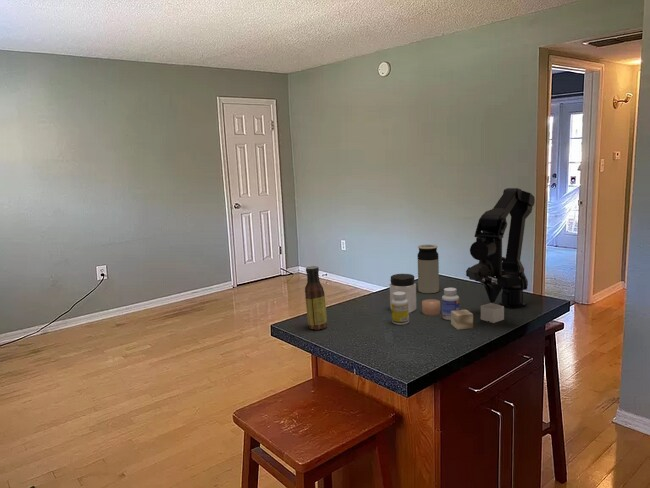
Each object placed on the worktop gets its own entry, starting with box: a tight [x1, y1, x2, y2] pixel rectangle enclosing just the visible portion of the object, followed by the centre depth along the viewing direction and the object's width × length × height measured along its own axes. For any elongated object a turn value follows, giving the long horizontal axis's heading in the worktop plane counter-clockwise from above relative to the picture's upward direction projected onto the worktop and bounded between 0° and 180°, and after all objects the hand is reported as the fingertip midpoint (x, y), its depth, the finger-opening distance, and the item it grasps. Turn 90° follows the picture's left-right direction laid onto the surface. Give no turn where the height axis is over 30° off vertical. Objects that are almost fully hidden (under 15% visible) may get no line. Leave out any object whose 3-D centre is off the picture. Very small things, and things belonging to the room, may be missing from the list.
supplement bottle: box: [391, 292, 410, 326], centre depth 159 cm, size 5×5×10 cm
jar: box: [389, 273, 417, 314], centre depth 172 cm, size 9×8×12 cm
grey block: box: [480, 302, 505, 324], centre depth 158 cm, size 5×5×4 cm
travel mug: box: [417, 244, 440, 295], centre depth 193 cm, size 8×8×18 cm
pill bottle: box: [441, 287, 460, 321], centre depth 161 cm, size 5×5×10 cm
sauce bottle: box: [304, 265, 328, 331], centre depth 158 cm, size 6×6×20 cm
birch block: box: [450, 309, 474, 330], centre depth 153 cm, size 5×5×4 cm
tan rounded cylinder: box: [421, 298, 441, 317], centre depth 168 cm, size 6×6×4 cm
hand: (492, 302), depth 157 cm, fingers closed
